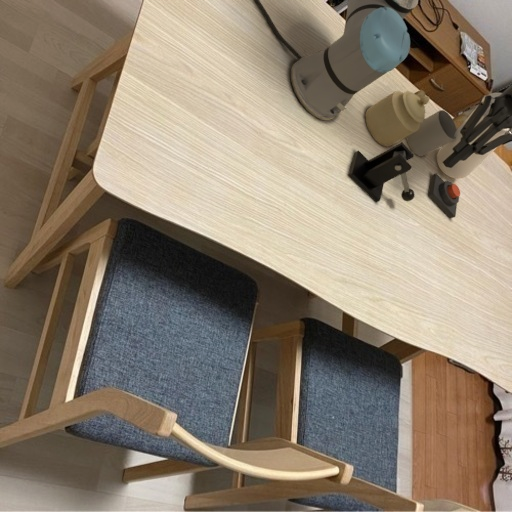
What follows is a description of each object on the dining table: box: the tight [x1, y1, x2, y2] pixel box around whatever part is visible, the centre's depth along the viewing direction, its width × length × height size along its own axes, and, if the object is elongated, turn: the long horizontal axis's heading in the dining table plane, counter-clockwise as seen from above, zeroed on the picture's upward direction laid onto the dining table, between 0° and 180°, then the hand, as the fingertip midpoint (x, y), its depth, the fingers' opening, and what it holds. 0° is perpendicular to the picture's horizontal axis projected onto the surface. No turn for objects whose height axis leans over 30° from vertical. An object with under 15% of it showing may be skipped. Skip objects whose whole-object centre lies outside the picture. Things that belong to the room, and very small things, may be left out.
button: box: [447, 183, 461, 199], centre depth 152 cm, size 4×4×2 cm
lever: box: [393, 151, 415, 202], centre depth 131 cm, size 14×3×3 cm, turn 68°
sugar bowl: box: [365, 89, 431, 147], centre depth 141 cm, size 15×11×15 cm
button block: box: [427, 172, 460, 219], centre depth 153 cm, size 10×8×4 cm
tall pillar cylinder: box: [436, 92, 509, 180], centre depth 149 cm, size 11×11×25 cm
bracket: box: [347, 141, 415, 203], centre depth 130 cm, size 10×8×12 cm
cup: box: [406, 109, 457, 157], centre depth 152 cm, size 8×8×10 cm
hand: (446, 165), depth 132 cm, fingers closed
